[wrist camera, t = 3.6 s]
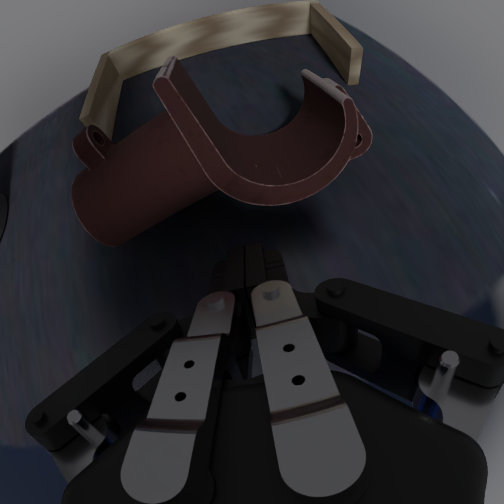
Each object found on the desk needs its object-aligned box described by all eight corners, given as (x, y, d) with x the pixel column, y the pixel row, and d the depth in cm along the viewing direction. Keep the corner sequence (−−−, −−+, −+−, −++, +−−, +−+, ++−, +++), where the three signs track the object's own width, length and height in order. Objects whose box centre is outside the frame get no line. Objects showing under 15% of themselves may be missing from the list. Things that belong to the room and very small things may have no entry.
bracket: (393, 168, 15) (346, -5, 8) (145, 284, 19) (30, 184, 12) (349, 124, 19) (299, -3, 12) (151, 223, 23) (67, 134, 16)
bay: (102, 146, 23) (79, 119, 19) (116, 79, 27) (101, 54, 23) (358, 84, 21) (363, 47, 17) (316, 29, 25) (316, 0, 21)
